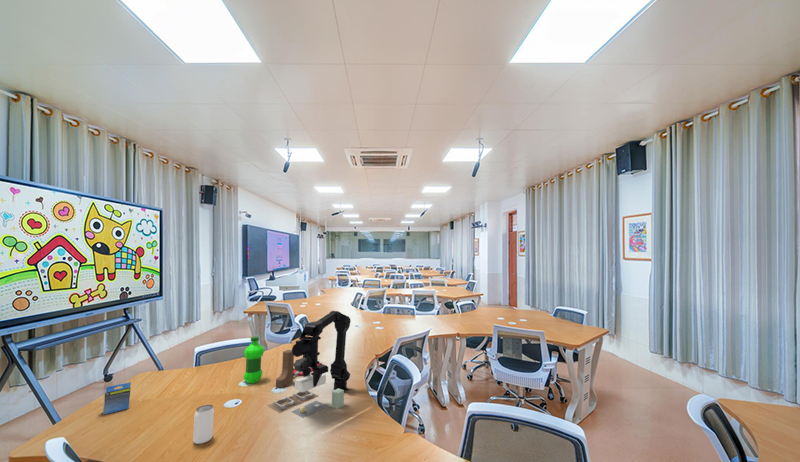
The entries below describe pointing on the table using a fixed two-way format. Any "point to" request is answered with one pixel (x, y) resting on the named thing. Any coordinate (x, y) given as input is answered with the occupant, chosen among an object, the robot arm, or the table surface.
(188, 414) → the table surface
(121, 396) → the label tape box
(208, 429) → the can
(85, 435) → the table surface
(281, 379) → the wooden block
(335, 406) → the peg
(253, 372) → the plastic bottle
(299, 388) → the cover
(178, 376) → the table surface
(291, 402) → the build board
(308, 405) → the board
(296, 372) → the red board with handle
